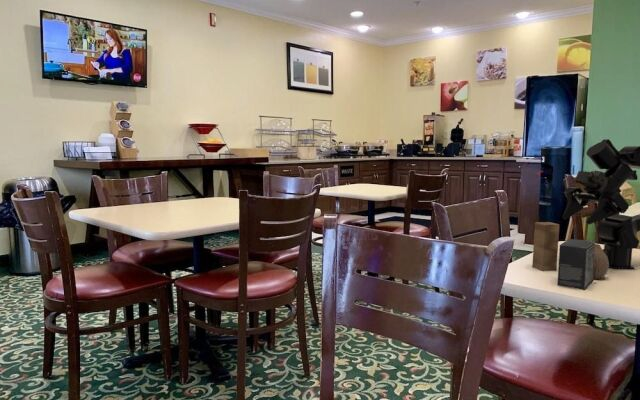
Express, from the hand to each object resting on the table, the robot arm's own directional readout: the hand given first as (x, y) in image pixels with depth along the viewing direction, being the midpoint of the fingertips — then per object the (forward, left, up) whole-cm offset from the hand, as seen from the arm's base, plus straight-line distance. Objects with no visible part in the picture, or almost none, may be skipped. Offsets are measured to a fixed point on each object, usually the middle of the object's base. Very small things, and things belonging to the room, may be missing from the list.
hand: (575, 220), depth 131 cm
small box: (+8, +15, -14) cm, 22 cm away
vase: (0, +9, -14) cm, 17 cm away
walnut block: (+9, +1, -14) cm, 16 cm away
